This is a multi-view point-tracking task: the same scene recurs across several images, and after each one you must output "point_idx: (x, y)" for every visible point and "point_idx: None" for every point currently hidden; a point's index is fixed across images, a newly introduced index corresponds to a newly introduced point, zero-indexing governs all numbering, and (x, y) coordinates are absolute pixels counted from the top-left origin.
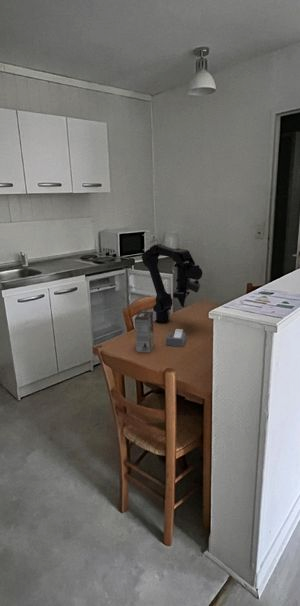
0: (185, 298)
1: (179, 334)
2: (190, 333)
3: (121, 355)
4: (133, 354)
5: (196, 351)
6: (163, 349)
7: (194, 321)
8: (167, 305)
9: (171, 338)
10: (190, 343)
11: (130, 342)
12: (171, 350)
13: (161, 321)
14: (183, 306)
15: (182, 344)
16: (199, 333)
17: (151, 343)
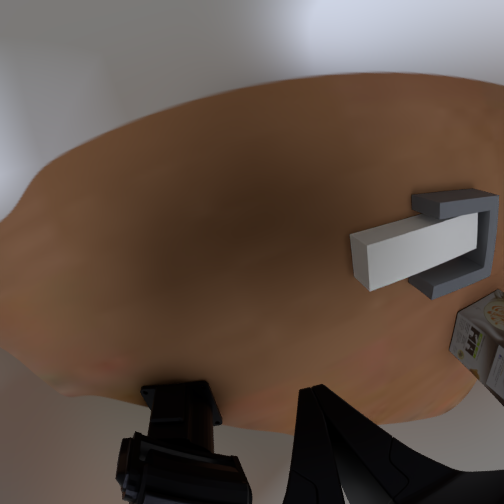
0: (383, 485)
1: (439, 236)
2: (324, 189)
3: None
4: None
5: (488, 122)
6: None
7: (86, 240)
8: (207, 478)
9: (492, 251)
10: (444, 157)
11: (436, 381)
12: None
13: (211, 408)
14: (328, 391)
15: (480, 191)
16: (305, 127)
17: (501, 305)
